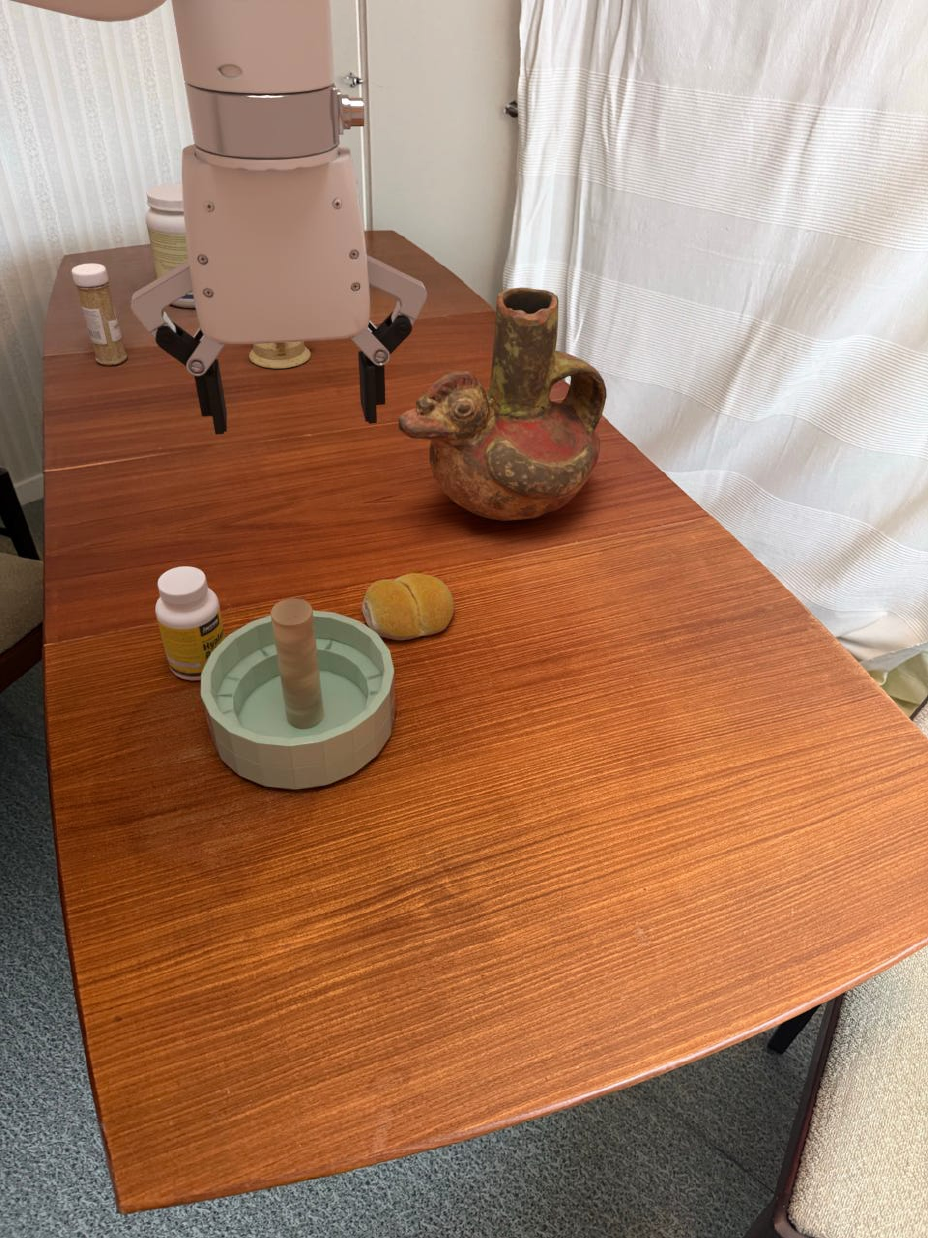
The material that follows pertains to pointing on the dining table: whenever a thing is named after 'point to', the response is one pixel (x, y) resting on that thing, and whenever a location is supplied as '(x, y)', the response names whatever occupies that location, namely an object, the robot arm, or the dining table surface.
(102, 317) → the spice jar
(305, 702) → the stirring stick
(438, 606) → the bread roll
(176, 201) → the supplement tub
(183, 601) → the supplement bottle
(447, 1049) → the dining table surface
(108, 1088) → the dining table surface
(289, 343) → the lantern
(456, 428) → the ceramic vessel
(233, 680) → the bowl
